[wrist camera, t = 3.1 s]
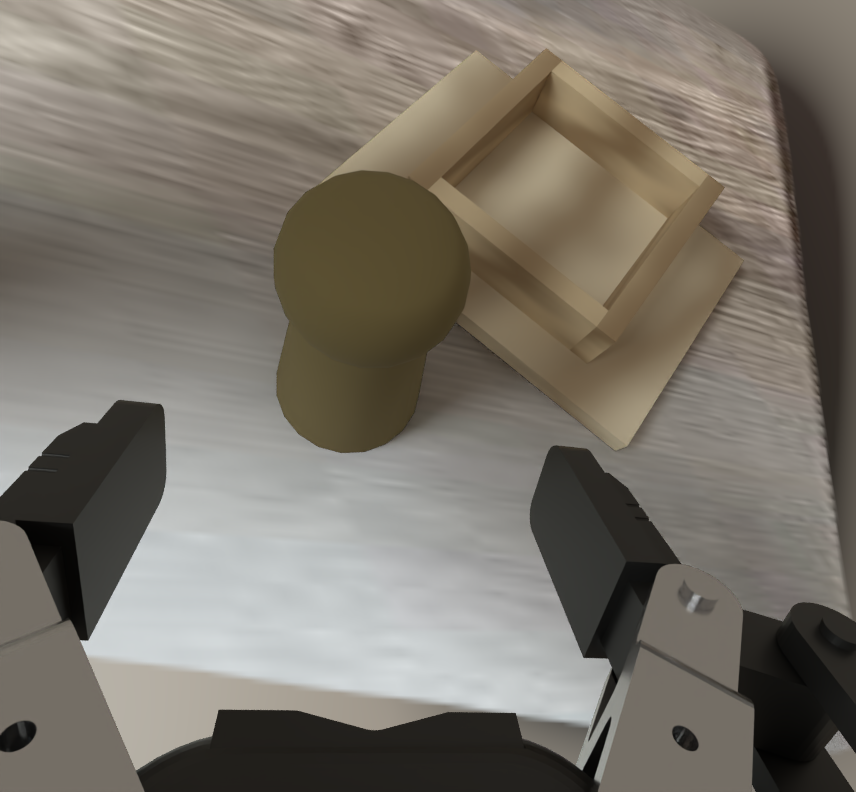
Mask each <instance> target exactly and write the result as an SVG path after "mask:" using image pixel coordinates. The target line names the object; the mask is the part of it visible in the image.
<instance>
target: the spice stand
mask: <svg viewBox="0 0 856 792" xmlns="http://www.w3.org/2000/svg"><path fill="white" fill-rule="evenodd" d="M360 170H366V171H380V172H389V173H392V174H395V175H398V176H401V177H404V178H407V179H410V180H413V181H415V182H416V183H418V184H419V185H421V186H422V187H424V188H425V189H427V190H429V191H430V192H432V193H433V194H435V195H436V196H437V197H438V198H439V200H440V201H441V202H442V203H443V204H444V205H445V206H446V207H447V209H448V210H449V211H450V212H451V213H452V214H453V216H454V218H455V219H456V221H457V223H458V225H459V227H460V229H461V232H462V234H463V236H464V238H465V240H466V242H467V244H468V249H469V257H470V265H471V280H470V286H469V290H468V295H467V299H466V303H465V308H464V310H463V311H462V313H461V314H460V316H459V318H458V319H457V321H456V322H457V323H458V324H459V325H460V326H461V327H463V328H464V329H465V330H466V331H468V332H469V333H470V334H471V335H473V336H474V337H475V338H476V339H478V340H479V341H480V342H481V343H482V344H484V345H485V346H486V347H487V348H489V349H490V350H491V351H492V352H494V353H495V354H496V355H497V356H499V357H500V358H501V359H502V360H503V361H505V362H506V363H507V364H508V365H510V366H511V367H512V368H513V369H515V370H516V371H517V372H518V373H520V374H521V375H522V376H523V377H524V378H526V379H527V380H528V381H529V382H531V383H532V384H533V385H534V386H536V387H537V388H538V389H539V390H541V391H542V392H543V393H544V394H545V395H547V396H548V397H549V398H550V399H552V400H553V401H554V402H555V403H557V404H558V405H559V406H560V407H562V408H563V409H564V410H565V411H566V412H568V413H569V414H570V415H571V416H573V417H574V418H575V419H576V420H578V421H579V422H580V423H581V424H583V425H584V426H585V427H586V428H587V429H589V430H590V431H591V432H592V433H594V434H595V435H596V436H597V437H599V438H600V439H601V440H602V441H604V442H605V443H606V444H607V445H608V446H610V447H611V448H612V449H613V450H615V451H617V450H619V449H622V448H624V447H627V446H628V444H629V443H630V441H631V439H632V438H633V436H634V435H635V433H636V432H637V430H638V428H639V427H640V425H641V424H642V422H643V420H644V419H645V417H646V416H647V414H648V412H649V411H650V409H651V408H652V406H653V404H654V403H655V401H656V400H657V398H658V397H659V395H660V393H661V392H662V390H663V389H664V387H665V385H666V384H667V382H668V381H669V379H670V377H671V376H672V374H673V373H674V371H675V369H676V368H677V366H678V365H679V363H680V362H681V360H682V358H683V357H684V355H685V354H686V352H687V350H688V349H689V347H690V346H691V344H692V342H693V341H694V339H695V338H696V336H697V334H698V333H699V331H700V330H701V328H702V327H703V325H704V323H705V322H706V320H707V319H708V317H709V315H710V314H711V312H712V311H713V309H714V307H715V306H716V304H717V303H718V301H719V299H720V298H721V296H722V295H723V293H724V292H725V290H726V288H727V287H728V285H729V284H730V282H731V280H732V279H733V277H734V276H735V274H736V272H737V271H738V269H739V268H740V266H741V264H742V263H743V261H744V260H743V259H742V258H740V257H739V256H738V255H737V254H735V253H734V252H733V251H731V250H730V249H729V248H728V247H726V246H725V245H724V244H723V243H721V242H720V241H719V240H717V239H716V238H715V237H714V236H712V235H711V234H710V233H709V232H707V231H706V230H705V229H703V228H702V227H701V226H700V225H699V223H700V222H701V220H702V219H703V218H704V216H705V215H706V213H707V212H708V210H709V209H710V208H711V206H712V205H713V203H714V202H715V200H716V199H717V198H718V196H719V195H720V193H721V192H722V191H723V189H724V188H725V187H723V186H722V185H721V184H720V183H718V182H717V181H716V180H714V179H713V178H712V177H711V176H709V175H708V174H707V173H705V172H704V171H703V170H702V169H700V168H699V167H698V166H696V165H695V164H694V163H693V162H691V161H690V160H689V159H688V158H686V157H685V156H684V155H682V154H681V153H680V152H679V151H677V150H676V149H675V148H673V147H672V146H671V145H670V144H668V143H667V142H666V141H664V140H663V139H662V138H661V137H659V136H658V135H657V134H655V133H654V132H653V131H652V130H650V129H649V128H648V127H646V126H645V125H644V124H643V123H641V122H640V121H639V120H637V119H636V118H635V117H634V116H632V115H631V114H630V113H628V112H627V111H626V110H625V109H623V108H622V107H621V106H620V105H618V104H617V103H616V102H614V101H613V100H612V99H611V98H609V97H608V96H607V95H605V94H604V93H603V92H602V91H600V90H599V89H598V88H596V87H595V86H594V85H593V84H591V83H590V82H589V81H587V80H586V79H585V78H584V77H582V76H581V75H580V74H578V73H577V72H576V71H575V70H573V69H572V68H571V67H569V66H568V65H567V64H566V63H564V62H563V61H562V60H561V59H559V58H558V57H557V56H555V55H554V54H553V53H552V52H550V51H549V50H548V49H545V50H544V51H543V52H542V53H541V54H540V55H538V56H537V57H536V58H535V59H534V60H533V61H532V62H531V63H530V64H529V65H528V66H527V67H526V68H524V69H523V70H522V71H521V72H520V73H519V74H518V75H517V76H516V77H515V78H514V79H512V78H511V77H510V76H508V75H507V74H506V73H505V72H503V71H502V70H501V69H499V68H498V67H497V66H496V65H494V64H493V63H492V62H491V61H489V60H488V59H487V58H485V57H484V56H483V55H482V54H480V53H479V52H478V51H475V52H473V53H472V54H471V55H470V56H469V57H468V58H466V59H465V60H464V61H463V62H462V63H460V64H459V65H458V66H457V67H456V68H455V69H453V70H452V71H451V72H450V73H449V74H448V75H446V76H445V77H444V78H443V79H442V80H441V81H439V82H438V83H437V84H436V85H435V86H433V87H432V88H431V89H430V90H429V91H428V92H426V93H425V94H424V95H423V96H422V97H421V98H419V99H418V100H417V101H416V102H415V103H414V104H412V105H411V106H410V107H409V108H408V109H406V110H405V111H404V112H403V113H402V114H401V115H399V116H398V117H397V118H396V119H395V120H394V121H392V122H391V123H390V124H389V125H388V126H387V127H385V128H384V129H383V130H382V131H381V132H379V133H378V134H377V135H376V136H375V137H374V138H372V139H371V140H370V141H369V142H368V143H367V144H365V145H364V146H363V147H362V148H361V149H360V150H358V151H357V152H356V153H355V154H354V155H352V156H351V157H350V158H349V159H348V160H347V161H345V162H344V163H343V164H342V165H341V166H340V167H338V168H337V169H336V170H335V171H334V172H333V173H331V174H330V175H329V176H328V177H327V178H325V179H324V180H323V181H322V182H321V183H323V182H325V181H327V180H328V179H330V178H332V177H334V176H336V175H340V174H345V173H350V172H355V171H360ZM321 183H320V184H321ZM318 185H319V184H318Z"/></svg>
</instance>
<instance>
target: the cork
mask: <svg viewBox="0 0 856 792" xmlns="http://www.w3.org/2000/svg"><path fill="white" fill-rule="evenodd" d="M470 280H471V265H470V257H469V249H468V244H467V242H466V240H465V238H464V236H463V234H462V232H461V229H460V227H459V225H458V223H457V221H456V219H455V218H454V216H453V214H452V213H451V212H450V211H449V210H448V209H447V207H446V206H445V205H444V204H443V203H442V202H441V201H440V200H439V198H438V197H437V196H436V195H435V194H433V193H432V192H430V191H429V190H427V189H425V188H424V187H422V186H421V185H419V184H418V183H416V182H415V181H413V180H410V179H407V178H404V177H401V176H398V175H395V174H392V173H389V172H380V171H366V170H360V171H355V172H350V173H345V174H340V175H336V176H334V177H332V178H330V179H328V180H327V181H325V182H323V183H321V184H319V185H317V186H316V187H314V188H312V189H311V190H309V191H307V192H306V193H305V194H304V195H303V196H302V197H301V198H300V199H299V200H298V202H297V203H296V204H295V205H294V206H293V207H292V208H291V209H290V210H289V211H288V213H287V215H286V218H285V221H284V223H283V226H282V228H281V231H280V233H279V236H278V239H277V241H276V244H275V247H274V282H275V289H276V291H277V294H278V296H279V299H280V302H281V304H282V307H283V310H284V312H285V315H286V317H287V318H288V319H289V320H290V321H289V325H288V329H287V333H286V337H285V341H284V345H283V349H282V353H281V357H280V362H279V366H278V370H277V398H278V400H279V403H280V406H281V409H282V411H283V414H284V417H285V418H286V419H287V420H288V422H289V423H290V424H291V425H292V426H293V428H294V429H295V430H296V431H297V433H298V434H299V435H301V436H302V437H304V438H305V439H307V440H309V441H310V442H312V443H313V444H315V445H316V446H318V447H321V448H325V449H328V450H332V451H336V452H340V453H350V452H365V451H368V450H371V449H373V448H376V447H379V446H382V445H384V444H386V443H388V442H389V441H390V440H391V439H393V438H394V437H395V436H396V435H398V434H399V433H400V432H401V431H403V429H404V428H405V426H406V425H407V423H408V422H409V420H410V418H411V417H412V415H413V414H414V412H415V408H416V403H417V399H418V395H419V391H420V386H421V381H422V376H423V370H424V365H425V360H426V355H427V352H428V351H429V350H430V349H432V348H433V347H435V346H436V345H437V344H439V343H440V342H441V341H443V340H444V339H445V337H446V336H447V334H448V333H449V331H450V330H451V328H452V327H453V325H454V324H455V322H456V321H457V319H458V318H459V316H460V314H461V313H462V311H463V310H464V308H465V303H466V299H467V295H468V290H469V286H470Z"/></svg>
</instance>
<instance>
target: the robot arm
mask: <svg viewBox="0 0 856 792" xmlns="http://www.w3.org/2000/svg"><path fill="white" fill-rule="evenodd" d="M165 482H166V444H165V416H164V409H163V407H162V405H161V404H154V403H144V402H134V401H124V400H118V401H116V402H115V403H114V405H113V406H112V407H111V408H110V409H109V410H108V412H107V413H106V414H105V415H104V416H103V417H102V419H101V420H100V421H99V422H98V423H97V424H96V423H85V422H84V423H82V424H80V425H78V426H76V427H74V428H72V429H70V430H68V431H66V432H64V433H62V434H60V435H58V436H57V437H56V438H55V440H54V441H53V442H52V443H51V444H50V445H49V446H48V447H47V448H46V449H45V450H44V451H43V452H42V456H38V458H37V459H36V460H35V461H34V462H33V463H32V464H31V465H30V466H29V469H28V471H24V472H23V473H22V474H21V476H20V477H19V478H18V479H17V480H16V481H15V482H14V483H13V484H12V485H11V486H10V487H9V488H8V489H7V490H6V491H5V492H4V494H3V495H2V496H1V497H0V792H751V791H752V785H753V787H754V789H755V791H756V792H854V790H853V789H852V787H851V786H850V785H849V783H848V782H847V780H846V779H845V777H844V776H843V774H842V773H841V771H840V770H839V768H838V767H837V765H836V764H835V762H834V761H833V760H832V758H831V757H830V755H829V754H828V752H827V751H826V749H825V748H824V747H825V746H826V745H827V744H828V742H829V741H830V740H831V739H832V737H833V736H834V735H835V734H836V732H837V731H838V730H839V731H840V732H841V734H842V735H843V736H844V738H845V739H846V741H847V742H848V743H849V745H850V746H851V747H852V749H853V750H854V752H855V753H856V623H855V622H854V621H853V620H851V619H849V618H848V617H846V616H844V615H843V614H841V613H839V612H837V611H835V610H833V609H830V608H828V607H825V606H822V605H819V604H814V603H804V602H803V603H798V604H796V605H794V606H793V607H792V608H791V610H790V612H789V613H788V615H787V616H786V618H785V619H784V621H783V622H782V621H779V620H775V619H772V618H769V617H766V616H762V615H759V614H756V613H752V612H749V611H746V610H743V609H742V607H741V605H740V603H739V601H738V599H737V598H736V597H735V595H734V594H733V593H732V592H731V591H730V590H729V589H728V588H727V587H726V586H725V585H724V584H723V583H721V582H720V581H719V580H717V579H716V578H714V577H713V576H711V575H709V574H707V573H705V572H704V571H701V570H699V569H697V568H694V567H691V566H687V565H682V564H681V563H680V561H679V560H678V559H677V557H676V556H675V554H674V553H673V551H672V550H671V549H670V547H669V546H668V544H667V543H666V542H665V540H664V539H663V537H662V536H661V535H660V533H659V532H658V530H657V529H656V528H655V526H654V525H653V523H652V522H650V521H649V518H648V516H647V515H646V513H645V512H644V511H643V509H642V508H639V504H638V502H637V501H636V499H635V498H634V497H633V495H632V494H631V492H630V491H629V489H628V488H627V487H626V486H624V485H623V484H622V483H621V482H619V481H618V480H617V479H616V478H614V477H613V476H612V475H611V474H609V473H604V471H603V470H602V468H601V467H600V465H599V464H598V462H597V461H596V459H595V458H594V456H593V455H592V453H591V452H590V451H589V450H588V449H584V448H574V447H565V446H553V447H551V448H550V450H549V452H548V454H547V456H546V459H545V463H544V466H543V469H542V472H541V475H540V478H539V481H538V484H537V487H536V490H535V493H534V496H533V499H532V503H531V508H530V524H531V529H532V532H533V535H534V537H535V540H536V542H537V544H538V547H539V549H540V552H541V554H542V557H543V559H544V562H545V564H546V567H547V569H548V571H549V574H550V576H551V579H552V581H553V584H554V586H555V589H556V591H557V594H558V596H559V598H560V601H561V603H562V606H563V608H564V611H565V613H566V616H567V618H568V621H569V623H570V625H571V628H572V630H573V633H574V635H575V638H576V640H577V643H578V645H579V648H580V650H581V652H582V655H583V657H584V658H608V659H609V662H610V664H611V666H612V668H611V670H610V672H609V674H608V676H607V678H606V681H605V683H604V686H603V689H602V692H601V695H600V698H599V701H598V704H597V707H596V710H595V712H594V715H593V718H592V721H591V724H590V727H589V730H588V733H587V736H586V739H585V742H584V744H583V747H582V750H581V753H580V756H579V759H578V761H577V764H576V766H575V765H574V764H573V763H571V762H570V761H568V760H567V759H565V758H564V757H562V756H560V755H559V754H557V753H555V752H553V751H551V750H549V749H548V748H546V747H543V746H541V745H539V744H536V743H534V742H531V741H529V740H525V739H522V736H521V732H520V728H519V724H518V720H517V716H516V713H467V712H466V713H464V712H447V713H443V714H440V715H436V716H432V717H428V718H424V719H421V720H417V721H413V722H409V723H406V724H402V725H398V726H394V727H390V728H386V729H383V730H378V731H377V730H375V731H374V730H366V729H363V728H359V727H356V726H352V725H348V724H344V723H341V722H337V721H334V720H330V719H326V718H323V717H319V716H315V715H311V714H308V713H304V712H300V711H289V710H286V711H285V710H219V711H218V715H217V719H216V723H215V728H214V732H213V736H212V737H208V738H204V739H200V740H197V741H194V742H191V743H189V744H186V745H183V746H180V747H178V748H176V749H174V750H172V751H170V752H168V753H166V754H164V755H162V756H160V757H157V758H156V759H154V760H153V761H151V762H149V763H148V764H146V765H145V766H143V767H141V768H140V769H138V770H135V768H134V766H133V763H132V761H131V759H130V756H129V754H128V752H127V749H126V747H125V745H124V743H123V740H122V738H121V735H120V733H119V731H118V728H117V726H116V724H115V721H114V719H113V717H112V714H111V712H110V710H109V707H108V705H107V703H106V700H105V698H104V696H103V693H102V691H101V689H100V686H99V684H98V681H97V679H96V677H95V675H94V672H93V670H92V667H91V665H90V663H89V660H88V658H87V656H86V653H85V651H84V649H83V646H82V644H81V642H80V640H87V641H88V640H89V638H90V636H91V634H92V632H93V630H94V628H95V626H96V625H97V623H98V621H99V619H100V617H101V615H102V613H103V611H104V609H105V607H106V605H107V603H108V601H109V600H110V598H111V596H112V594H113V592H114V590H115V588H116V586H117V584H118V582H119V580H120V578H121V576H122V575H123V573H124V571H125V569H126V567H127V565H128V563H129V561H130V559H131V557H132V555H133V553H134V551H135V550H136V548H137V546H138V544H139V542H140V540H141V538H142V536H143V534H144V532H145V530H146V528H147V526H148V525H149V523H150V521H151V519H152V517H153V515H154V513H155V511H156V509H157V507H158V505H159V503H160V501H161V498H162V495H163V492H164V488H165Z"/></svg>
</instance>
